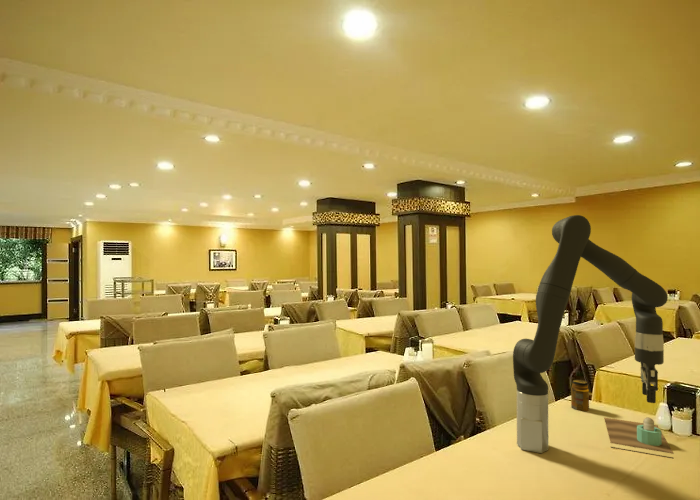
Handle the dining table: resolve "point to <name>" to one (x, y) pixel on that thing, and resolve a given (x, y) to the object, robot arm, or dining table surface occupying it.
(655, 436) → the ring
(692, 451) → the dining table surface
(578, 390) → the condiment
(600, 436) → the dining table surface
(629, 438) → the board
